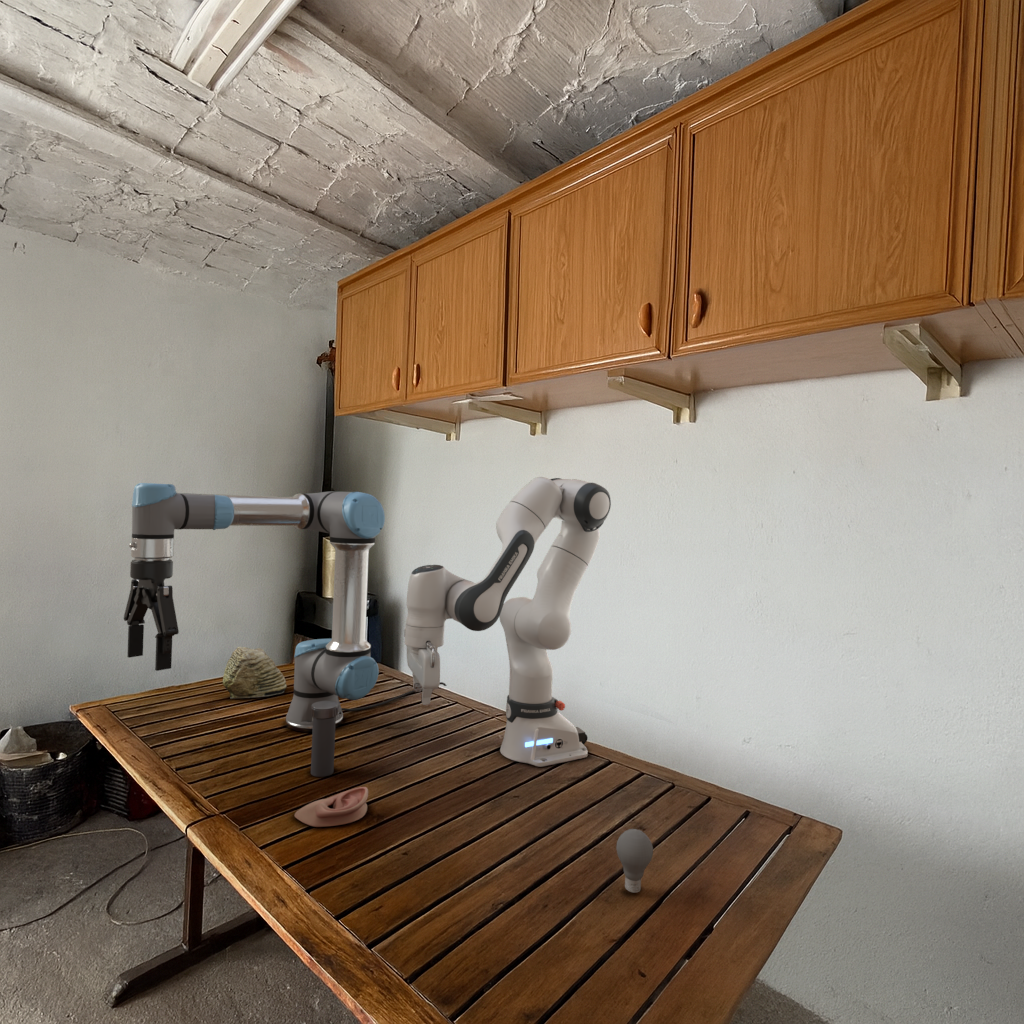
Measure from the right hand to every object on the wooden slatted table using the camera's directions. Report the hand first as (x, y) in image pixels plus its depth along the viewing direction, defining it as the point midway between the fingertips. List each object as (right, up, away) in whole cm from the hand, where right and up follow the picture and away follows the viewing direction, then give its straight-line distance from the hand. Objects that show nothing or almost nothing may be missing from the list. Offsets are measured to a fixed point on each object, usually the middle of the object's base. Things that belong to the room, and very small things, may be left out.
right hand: (421, 697), depth 144 cm
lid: (-22, -3, +1) cm, 23 cm away
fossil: (-60, -15, +54) cm, 82 cm away
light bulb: (+41, -21, -38) cm, 60 cm away
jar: (-23, -18, +2) cm, 29 cm away
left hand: (-54, +11, -15) cm, 57 cm away
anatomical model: (-15, -18, -17) cm, 30 cm away
